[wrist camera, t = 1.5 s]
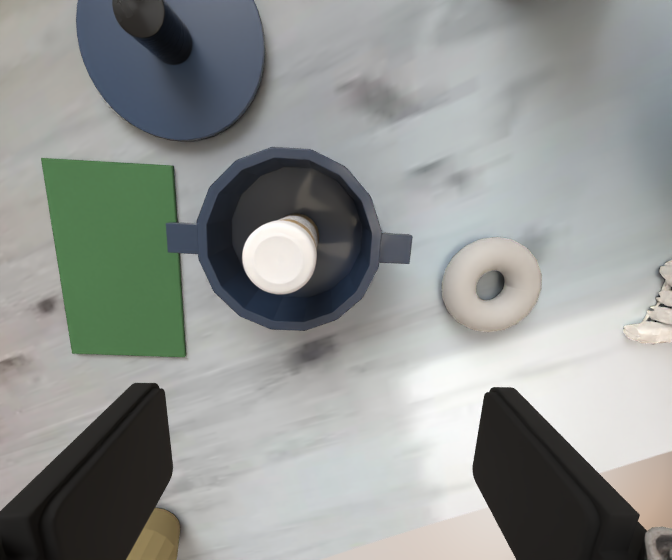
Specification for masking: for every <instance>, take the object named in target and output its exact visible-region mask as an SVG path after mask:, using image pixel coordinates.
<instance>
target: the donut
mask: <svg viewBox="0 0 672 560" xmlns="http://www.w3.org/2000/svg"><path fill="white" fill-rule="evenodd" d="M493 270H496V271H499V272H501V273H502V274H503V276H504V279H505V284H504V287H503V290H502V291H501V293H500V294H499V295H498V296H497V297H495V298H494V299H491V300H482V299H480V298H479V297H478V295H477V293H476V286H477V283H478V281H479V279H480V278H481V276H483V275H484V274H485V273H487V272H489V271H493ZM541 285H542V274H541V271H540V268H539V265H538V262H537V259H536V258H535V257H534V256H533V254H532V253H531V252H530V251H529V250H528V248H526V247H524V246H523V245H521V244H519V243H517V242H516V241H514V240H512V239H506V238H500V237H492V238H486V239H479V240H477V241H475V242H473V243H471V244H469V245H467V246H465V247H464V248H463V249H461V250H460V251H459V252H458V253H457V254H456V255H455V256H454V257H453V258H452V260H451V261H450V263H449V265H448V266H447V268H446V269H445V273H444V277H443V280H442V298H443V301H444V303H445V305H446V308H447V310H448V312H449V313H450V314H451V315H452V317H453V318H454V319H455V320H456V321H457V322H458V323H460V324H462V325H464V326H466V327H468V328H470V329H472V330H475V331H482V332H493V331H500V330H504V329H507V328H509V327H511V326H513V325H516V324H517V323H519V322H520V321H521V320H522V319H523V318H525V317H526V316H527V315H528V314H529V313H530V311H531V310H532V309H533V307H534V306H535V304H536V303H537V300H538V297H539V294H540V291H541Z"/></svg>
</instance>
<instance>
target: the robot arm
mask: <svg viewBox="0 0 672 560" xmlns="http://www.w3.org/2000/svg"><path fill="white" fill-rule="evenodd" d="M172 472H173V462H172V453H171V444H170V435H169V425H168V416H167V407H166V398H165V391H164V390H163V389H159V386H158V384H156V383H134V384H132V385H131V386H130V387H129V388H128V389H127V390H126V391H125V392H124V393H123V394H122V395H121V396H120V397H119V398H117V399H116V400H115V401H114V402H113V403H112V404H111V405H110V406H109V407H108V408H107V409H106V410H105V411H104V412H103V413H102V414H101V415H100V416H99V417H98V418H97V419H96V420H95V421H94V422H93V423H91V424H90V425H89V426H88V427H87V428H86V429H85V430H84V431H83V432H82V433H81V434H80V435H79V436H78V437H77V438H76V439H75V440H74V441H73V442H72V443H71V444H70V445H69V446H68V447H67V448H66V449H64V450H63V451H62V452H61V453H60V454H59V455H58V456H57V457H56V458H55V459H54V460H53V461H52V462H51V463H50V464H49V465H48V466H47V467H46V468H45V469H44V470H43V471H42V472H41V473H40V474H39V475H37V476H36V477H35V478H34V479H33V480H32V481H31V482H30V483H29V484H28V485H27V486H26V487H25V488H24V489H23V490H22V491H21V492H20V493H19V494H18V495H17V496H16V497H15V498H14V499H13V500H12V501H10V502H9V503H8V504H7V505H6V506H5V507H4V508H3V509H2V510H1V511H0V560H126V559H127V557H128V555H129V554H130V552H131V550H132V548H133V546H134V545H135V543H136V541H137V539H138V537H139V535H140V534H141V532H142V530H143V528H144V526H145V525H146V523H147V521H148V519H149V517H150V516H151V514H152V512H153V510H154V508H155V507H156V505H157V503H158V501H159V499H160V497H161V496H162V494H163V492H164V490H165V488H166V487H167V485H168V483H169V481H170V479H171V476H172ZM473 476H474V479H475V482H476V484H477V486H478V488H479V489H480V491H481V493H482V495H483V497H484V499H485V501H486V503H487V505H488V507H489V508H490V510H491V512H492V514H493V516H494V518H495V520H496V522H497V524H498V526H499V527H500V529H501V531H502V533H503V535H504V537H505V539H506V541H507V543H508V545H509V546H510V548H511V550H512V552H513V554H514V556H515V558H516V560H672V529H671V528H666V527H654V528H651V529H649V530H648V531H647V530H646V529H644V527H643V526H642V525H641V524H640V523H639V522H638V519H639V516H640V515H639V514H638V513H637V512H636V511H635V510H634V509H633V508H632V507H631V505H630V504H629V503H628V502H627V501H626V500H625V499H624V498H623V497H622V496H620V495H619V493H618V492H617V491H616V490H615V489H614V488H613V487H612V486H611V485H610V484H609V483H608V482H607V481H606V480H605V479H604V478H603V477H602V476H601V475H600V474H599V473H598V472H597V471H596V470H595V469H594V468H593V467H592V466H591V465H590V464H589V463H588V462H587V461H586V460H585V459H584V458H583V457H582V456H581V455H580V454H579V453H578V452H577V451H576V450H575V449H574V448H573V447H572V446H571V445H570V444H569V443H568V442H567V441H566V440H565V439H564V438H563V437H562V436H561V435H560V434H559V433H558V432H557V431H556V430H555V429H554V428H553V427H552V426H551V425H550V424H549V423H548V422H547V421H546V420H545V419H544V418H543V417H542V416H541V415H540V414H539V413H538V411H537V410H536V409H535V408H534V407H533V406H532V405H531V404H530V403H529V402H528V401H527V400H526V399H525V398H524V397H523V396H522V395H521V394H520V393H519V392H518V391H517V390H516V389H514V388H511V387H493V388H491V390H490V392H487V393H485V395H484V400H483V406H482V412H481V418H480V424H479V431H478V437H477V443H476V449H475V455H474V461H473Z"/></svg>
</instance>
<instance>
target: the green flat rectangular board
mask: <svg viewBox="0 0 672 560" xmlns="http://www.w3.org/2000/svg"><path fill="white" fill-rule="evenodd" d="M41 161H42V167H43V173H44V180H45V186H46V192H47V198H48V205H49V211H50V217H51V224H52V230H53V236H54V242H55V249H56V255H57V261H58V267H59V274H60V280H61V286H62V293H63V299H64V305H65V311H66V318H67V324H68V330H69V336H70V343H71V349H72V353H73V354H102V355H131V356H160V357H185V356H186V348H185V333H184V317H183V302H182V287H181V271H180V256H179V253H168V249H167V235H166V223H169V222H177V210H176V195H175V180H174V166H168V165H151V164H134V163H117V162H100V161H83V160H66V159H49V158H41Z"/></svg>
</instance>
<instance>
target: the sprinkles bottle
mask: <svg viewBox="0 0 672 560" xmlns="http://www.w3.org/2000/svg"><path fill="white" fill-rule="evenodd" d="M318 241H319V232H318V228H317V226H316V225H315V223H314V222H313V221H312V220H311V219H310V218H309V217H307V216H306V215H302V214H290V215H287V216H285V217H284V218H282V219H279V220H277V221H272V222H269V223H266V224H264V225H262V226H260V227H259V228H257V229H256V230H255V231H254V232H252V233H251V235H250V236H249V237H248V239H247V241H246V242H245V245H244V248H243V253H242V261H243V266H244V270H245V272H246V274H247V276H248V277H249V279H250V280H251V281H252V282H253V283H254V284H255V285H256V286H257V287H259V288H260V289H262V290H263V291H266V292H269V293H273V294H288V293H292V292H294V291H297V290H298V289H300V288H301V287H303V286H304V285H305V284H306V283H307V282H308V281H309V279H310V278H311V276H312V274H313V272H314V269H315V265H316V260H317V252H316V251H317V245H318Z"/></svg>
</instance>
